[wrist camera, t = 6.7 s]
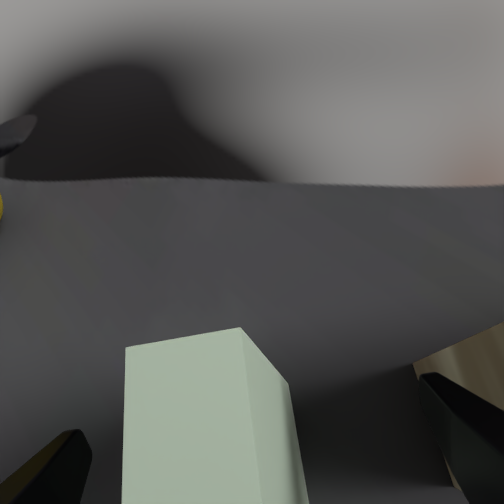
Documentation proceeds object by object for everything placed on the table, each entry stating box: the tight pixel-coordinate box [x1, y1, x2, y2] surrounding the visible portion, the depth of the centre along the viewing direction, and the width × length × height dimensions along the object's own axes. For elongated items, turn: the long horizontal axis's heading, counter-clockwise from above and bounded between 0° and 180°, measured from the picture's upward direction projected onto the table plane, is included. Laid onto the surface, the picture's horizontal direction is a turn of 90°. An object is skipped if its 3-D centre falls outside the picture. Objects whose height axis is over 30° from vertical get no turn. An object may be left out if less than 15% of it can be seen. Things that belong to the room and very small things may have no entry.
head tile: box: [122, 327, 309, 504], centre depth 10 cm, size 2×5×12 cm, turn 8°
